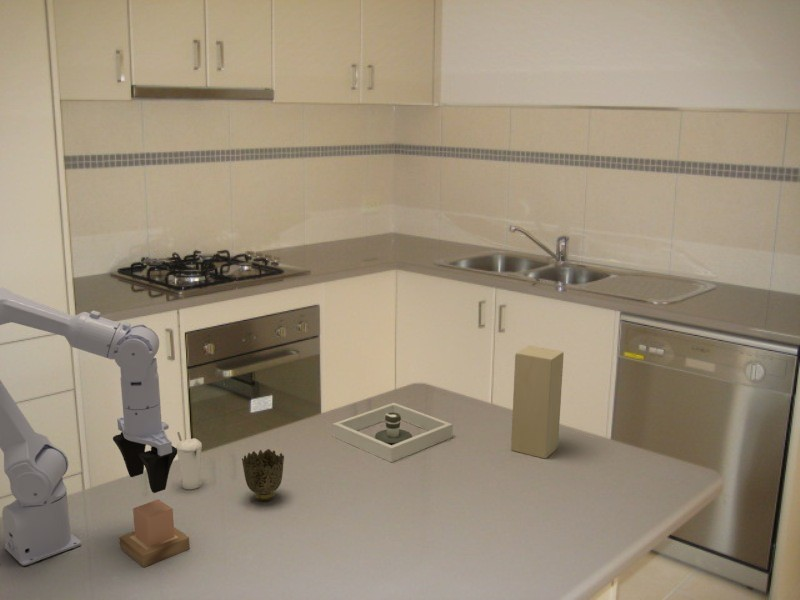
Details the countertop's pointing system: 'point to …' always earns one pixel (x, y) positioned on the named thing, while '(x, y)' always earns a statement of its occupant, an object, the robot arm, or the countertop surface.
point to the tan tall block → (536, 401)
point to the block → (153, 522)
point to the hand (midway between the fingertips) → (147, 482)
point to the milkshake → (189, 462)
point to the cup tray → (434, 435)
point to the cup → (263, 473)
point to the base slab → (153, 548)
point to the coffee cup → (392, 430)
